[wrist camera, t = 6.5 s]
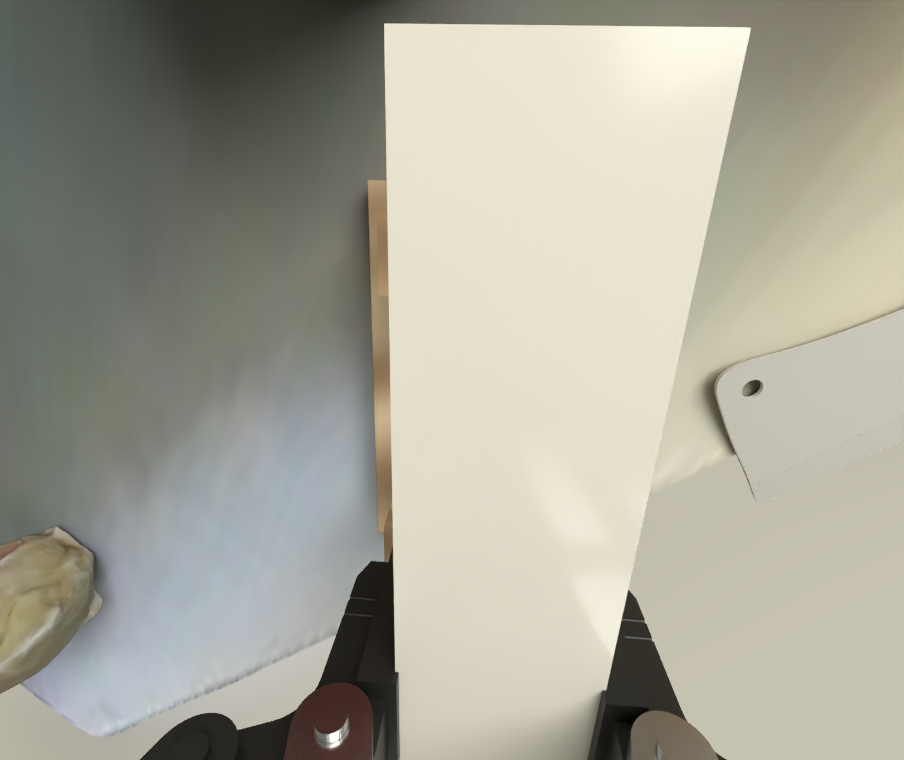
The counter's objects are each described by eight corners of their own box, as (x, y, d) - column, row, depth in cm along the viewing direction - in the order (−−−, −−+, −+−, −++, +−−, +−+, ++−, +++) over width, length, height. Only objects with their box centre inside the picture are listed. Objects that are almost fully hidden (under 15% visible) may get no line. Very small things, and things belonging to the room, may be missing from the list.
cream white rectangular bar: (524, 799, 15) (539, 997, 11) (421, 788, 15) (400, 979, 11) (623, 120, 8) (750, 28, 4) (430, 115, 8) (383, 23, 4)
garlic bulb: (140, 535, 34) (80, 656, 25) (90, 615, 35) (16, 757, 26) (-12, 492, 29) (-149, 619, 21) (-63, 585, 31) (-213, 742, 22)
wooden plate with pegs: (568, 529, 28) (592, 615, 22) (383, 517, 29) (356, 597, 22) (619, 190, 21) (675, 177, 15) (374, 182, 22) (333, 167, 16)
